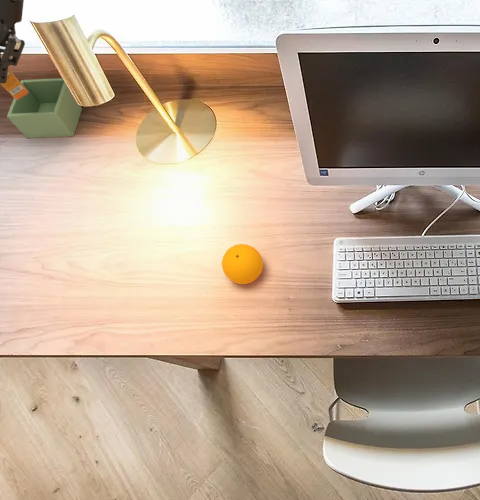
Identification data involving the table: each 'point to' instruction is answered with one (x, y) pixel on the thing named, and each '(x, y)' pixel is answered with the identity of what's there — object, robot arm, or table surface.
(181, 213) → the table surface
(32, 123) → the bin
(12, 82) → the supplement box
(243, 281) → the orange fruit
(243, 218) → the table surface
